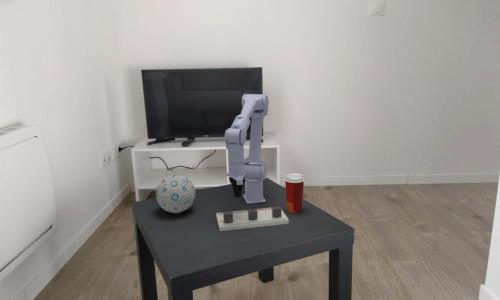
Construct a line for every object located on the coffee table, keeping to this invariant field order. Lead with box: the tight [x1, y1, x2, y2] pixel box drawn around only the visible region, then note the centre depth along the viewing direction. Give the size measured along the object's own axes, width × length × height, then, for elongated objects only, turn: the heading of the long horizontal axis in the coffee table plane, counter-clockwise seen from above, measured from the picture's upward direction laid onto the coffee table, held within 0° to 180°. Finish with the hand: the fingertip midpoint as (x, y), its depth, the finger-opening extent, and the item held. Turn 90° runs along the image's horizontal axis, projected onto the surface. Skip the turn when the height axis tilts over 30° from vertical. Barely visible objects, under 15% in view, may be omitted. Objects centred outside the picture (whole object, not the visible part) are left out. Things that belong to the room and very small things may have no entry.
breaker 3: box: [271, 206, 283, 217], centre depth 138 cm, size 2×3×3 cm, turn 101°
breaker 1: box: [222, 211, 233, 223], centre depth 135 cm, size 2×3×3 cm, turn 101°
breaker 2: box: [247, 208, 258, 220], centre depth 136 cm, size 2×3×3 cm, turn 101°
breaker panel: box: [215, 207, 290, 232], centre depth 139 cm, size 12×25×2 cm, turn 101°
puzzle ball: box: [155, 173, 196, 214], centre depth 147 cm, size 15×15×15 cm
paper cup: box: [283, 172, 306, 214], centre depth 146 cm, size 8×8×14 cm
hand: (237, 196), depth 138 cm, fingers closed
